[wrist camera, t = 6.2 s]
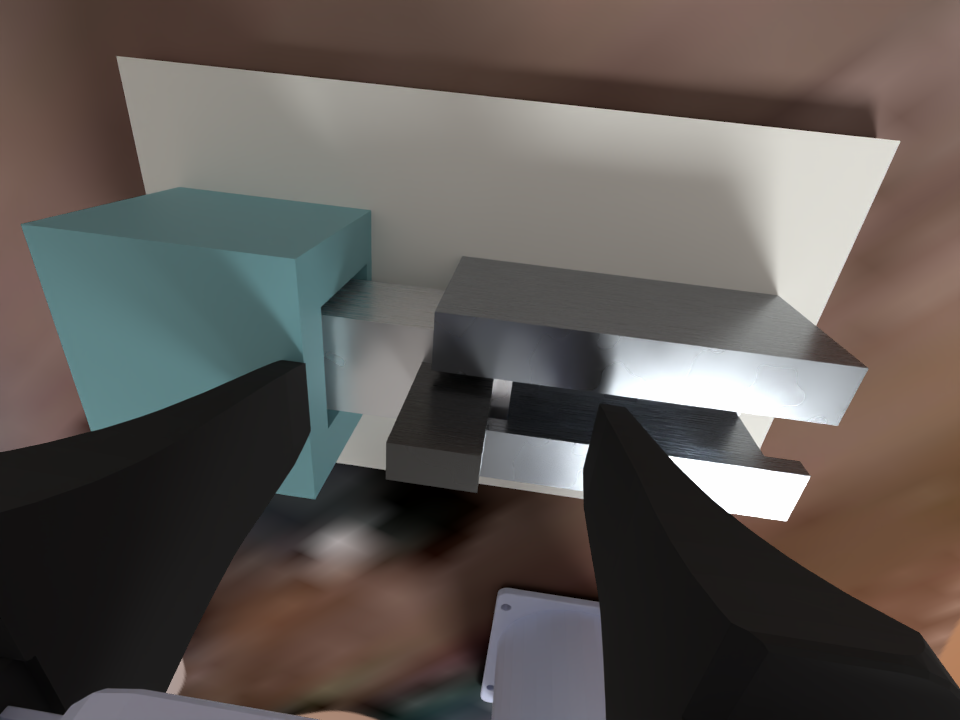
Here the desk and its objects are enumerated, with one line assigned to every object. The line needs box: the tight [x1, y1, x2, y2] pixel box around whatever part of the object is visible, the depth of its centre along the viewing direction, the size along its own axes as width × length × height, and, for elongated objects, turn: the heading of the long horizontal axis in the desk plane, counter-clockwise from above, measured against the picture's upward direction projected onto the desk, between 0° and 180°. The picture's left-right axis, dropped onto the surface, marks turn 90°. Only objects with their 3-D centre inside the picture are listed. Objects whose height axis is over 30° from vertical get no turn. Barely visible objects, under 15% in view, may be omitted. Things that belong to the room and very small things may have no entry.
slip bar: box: [321, 278, 513, 493], centre depth 13 cm, size 3×10×7 cm, turn 85°
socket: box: [21, 187, 372, 499], centre depth 15 cm, size 7×6×6 cm
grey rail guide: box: [431, 256, 868, 521], centre depth 15 cm, size 5×10×5 cm, turn 85°
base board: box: [116, 56, 900, 499], centre depth 17 cm, size 14×22×1 cm, turn 85°
